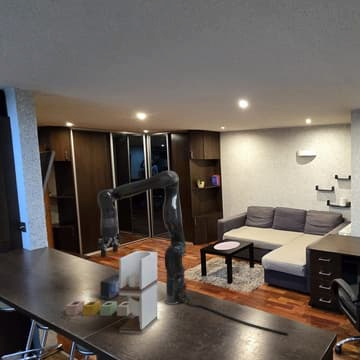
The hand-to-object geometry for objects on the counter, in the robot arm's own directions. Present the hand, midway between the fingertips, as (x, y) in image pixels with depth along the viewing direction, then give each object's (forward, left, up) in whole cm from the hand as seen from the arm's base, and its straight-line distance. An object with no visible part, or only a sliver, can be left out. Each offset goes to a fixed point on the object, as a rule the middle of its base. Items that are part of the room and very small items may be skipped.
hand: (109, 254), depth 150 cm
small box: (+5, -9, -28) cm, 30 cm away
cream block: (-15, +10, -28) cm, 33 cm away
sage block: (-6, +10, -28) cm, 30 cm away
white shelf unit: (-29, +21, -28) cm, 45 cm away
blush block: (+11, +10, -28) cm, 31 cm away
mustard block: (+2, +10, -28) cm, 30 cm away
